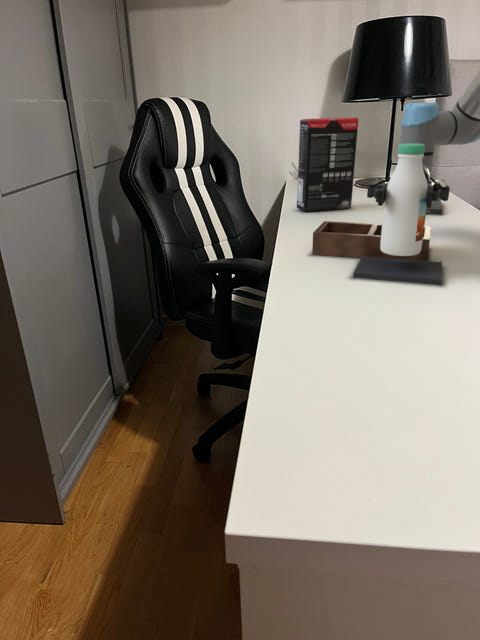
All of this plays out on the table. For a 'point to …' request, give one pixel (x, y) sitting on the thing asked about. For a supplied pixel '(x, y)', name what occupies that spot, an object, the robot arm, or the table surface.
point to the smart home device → (435, 207)
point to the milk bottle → (405, 204)
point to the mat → (399, 270)
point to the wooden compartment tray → (358, 241)
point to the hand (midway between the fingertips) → (404, 199)
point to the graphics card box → (326, 163)
